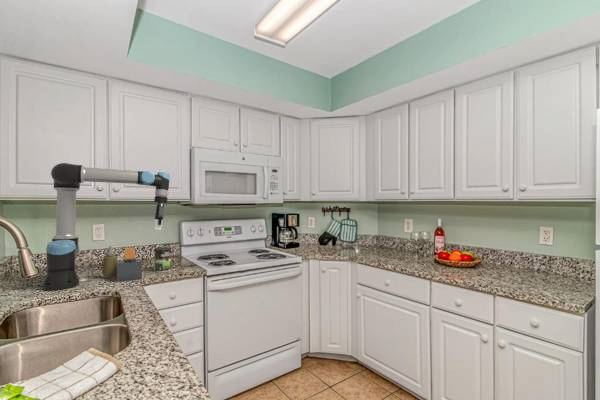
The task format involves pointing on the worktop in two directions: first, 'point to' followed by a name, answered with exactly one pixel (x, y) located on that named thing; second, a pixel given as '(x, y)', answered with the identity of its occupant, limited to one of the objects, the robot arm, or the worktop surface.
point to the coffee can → (162, 259)
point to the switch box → (129, 270)
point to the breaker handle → (129, 254)
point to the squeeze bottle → (110, 264)
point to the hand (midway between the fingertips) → (157, 229)
